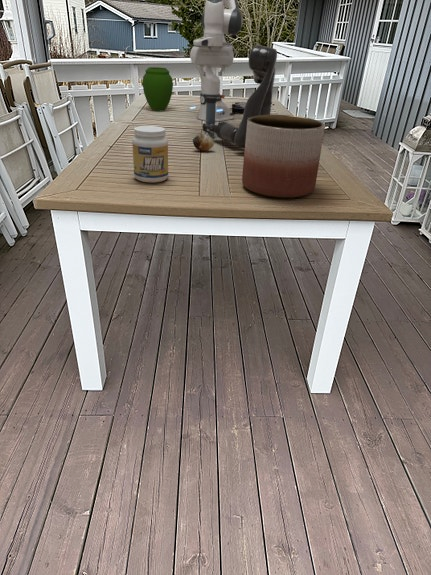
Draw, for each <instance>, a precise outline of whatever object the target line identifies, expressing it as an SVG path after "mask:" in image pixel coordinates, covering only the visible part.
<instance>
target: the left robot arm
mask: <svg viewBox="0 0 431 575" xmlns="http://www.w3.org/2000/svg"><path fill="white" fill-rule="evenodd" d="M225 7H227V8H225ZM242 27H243V16H242V12H241V10H240V7H239V3H238V0H205V3H204V10H203V11H202V13H201V28H202V29H203V36H202V37H199V38H196V39H194V40H193V41H192V42H193V43H192V44H193V46H192V48H191V49H190V52H189V58H190V60H191V63H192V65H194V66H195V67H196V69H197V71H198V73H199V77H200V94H199V102H200V104H199V111H198V116H197V119H198V120H201V121H206V101H205V100H206V97H216V98H217V102H216V112H215V122H226V121H231V120H234V117H233V115H237V114H238V112H235V113H232V112H230V108H229V106H227V105H226V104H225V102H224V101H222V99H223V100H225V98H226V96H225V94H221V80H220V77H223V75H224V71H225V69H226V68H229V67H230V66H232V65H233V63H234V59H235V58H234V57H235V56H234V51H233V50H234V46H233V44H232V43H231V42H227V41H226V38H225V35H230V36H236V35H238V34H239V33H241V31H242ZM213 68H217V69H219V71H218V72H217V74H215V73H214V72H213ZM272 103H273V102H272ZM272 103H271V105H273V106H275V103H274V104H272ZM189 109H190V110H192V109H196V106H191V107H189Z"/></svg>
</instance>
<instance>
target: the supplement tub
mask: <svg viewBox="0 0 431 575" xmlns="http://www.w3.org/2000/svg"><path fill="white" fill-rule="evenodd" d="M133 130H134V131H133V134H134V136H133V137H132V140H131V144H132V160H133V176H134V178H135V179H136V180H138V181H139V182H143V183H161V182H164V181H166V180H167V179H168V177H169V141H168V138H167V137H166V128H164V127H162V126H157V125H139V126H136V127H134V128H133Z"/></svg>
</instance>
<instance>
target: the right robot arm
mask: <svg viewBox="0 0 431 575" xmlns="http://www.w3.org/2000/svg"><path fill="white" fill-rule="evenodd" d="M248 54H249V55H248V67H249V69H250V70H251V71H252V78H253V82H254V83H255V84H257V85H258V86H257V88H256V89H255V90H254V91H253V92H252V93H251V95H250V96H248V98H247V100H246V101H245V102H246V105H245V109H244V113H243V114H242V118H241V121H240V122H239V125H238V127H237V126H235V125H234V124H231V123H229V122H226V121H220V122H217V123H215V125H214V124H211V125H207V124H206V122H205V123H202V132H204V133H205V132H207V133H210V132H214V133H215V134H216V136H217V138H219V139H221V140H224V141H226V142H229V143H231V144H234V145H235V146H236V147H237V148H242V149H245V142H246V131H247V120H248V118H250V117H252V116H257V115H271V113H272V112H271V111H272V104H271V103H273V91H274V85H275V78H276V69H277V68H276V64H277V59H278V50H277V49H276V48H273V47H269V46H264V45H262V44H261V45H260V44H255V45H254V46H252V48H251V50H250V51H249V53H248ZM208 126H209V127H208ZM212 126H213V128H212Z"/></svg>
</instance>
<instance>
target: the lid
mask: <svg viewBox="0 0 431 575" xmlns="http://www.w3.org/2000/svg"><path fill="white" fill-rule="evenodd" d="M205 101H206V102H209V103H216V102H217V98H216V97H206V100H205Z"/></svg>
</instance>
